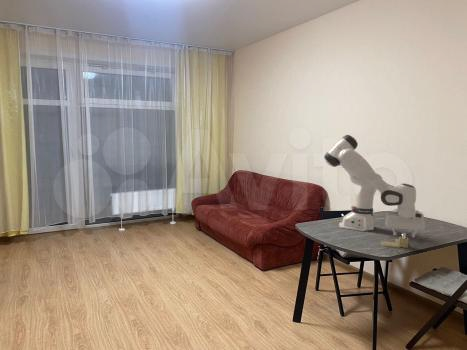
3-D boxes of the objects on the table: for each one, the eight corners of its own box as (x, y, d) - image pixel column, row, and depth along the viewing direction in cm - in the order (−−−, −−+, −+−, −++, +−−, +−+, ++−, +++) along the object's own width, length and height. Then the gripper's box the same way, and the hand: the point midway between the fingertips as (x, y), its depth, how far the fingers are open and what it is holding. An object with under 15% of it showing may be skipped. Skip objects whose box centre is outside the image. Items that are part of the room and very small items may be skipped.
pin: (401, 246, 197) (402, 233, 196) (400, 245, 199) (401, 232, 198) (405, 247, 197) (406, 233, 195) (404, 246, 198) (405, 232, 197)
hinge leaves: (382, 245, 199) (382, 237, 198) (380, 238, 212) (381, 230, 211) (409, 248, 194) (410, 240, 193) (406, 241, 207) (406, 233, 207)
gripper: (386, 212, 196) (384, 235, 197) (427, 215, 189) (424, 239, 191) (385, 209, 202) (383, 232, 203) (424, 212, 195) (422, 236, 197)
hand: (403, 236), depth 197 cm, fingers open, 8 cm apart
